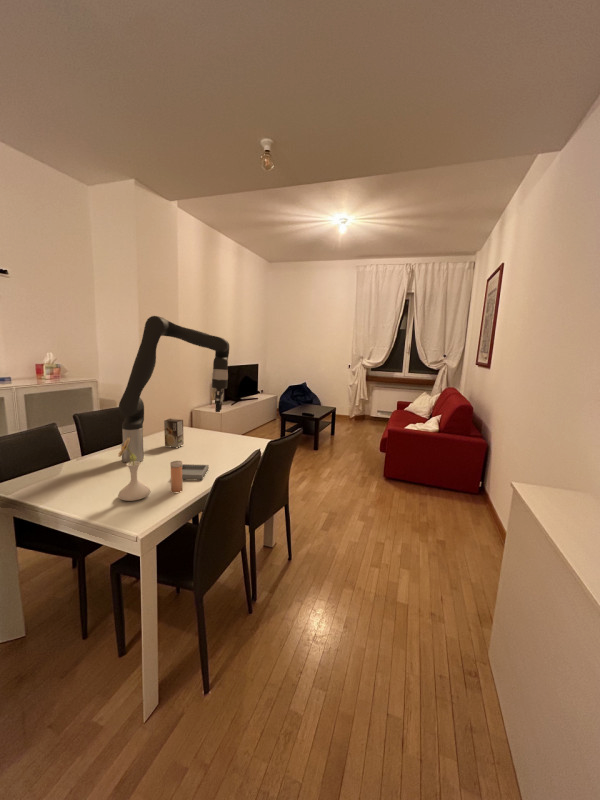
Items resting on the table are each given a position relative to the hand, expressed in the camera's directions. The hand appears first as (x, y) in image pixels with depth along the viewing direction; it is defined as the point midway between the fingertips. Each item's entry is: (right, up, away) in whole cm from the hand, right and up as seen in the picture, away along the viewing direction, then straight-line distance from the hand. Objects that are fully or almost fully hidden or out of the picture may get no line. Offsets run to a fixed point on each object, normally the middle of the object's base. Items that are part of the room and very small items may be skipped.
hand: (218, 410), depth 165 cm
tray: (-10, -30, -11) cm, 33 cm away
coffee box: (-34, -22, +31) cm, 51 cm away
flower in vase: (-24, -33, -36) cm, 55 cm away
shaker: (-10, -32, -29) cm, 44 cm away
